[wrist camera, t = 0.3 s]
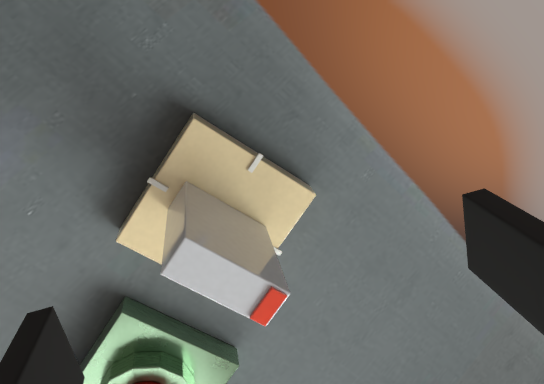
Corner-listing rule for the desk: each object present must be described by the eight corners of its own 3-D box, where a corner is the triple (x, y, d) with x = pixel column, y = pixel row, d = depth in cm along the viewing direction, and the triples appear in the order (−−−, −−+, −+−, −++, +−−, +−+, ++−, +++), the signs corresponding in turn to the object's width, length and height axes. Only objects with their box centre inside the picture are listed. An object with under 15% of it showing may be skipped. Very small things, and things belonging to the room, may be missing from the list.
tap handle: (167, 209, 33) (159, 277, 24) (186, 180, 32) (185, 238, 24) (247, 253, 35) (266, 330, 26) (266, 226, 34) (292, 295, 26)
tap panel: (191, 105, 33) (191, 110, 31) (316, 184, 36) (324, 194, 34) (111, 231, 35) (107, 244, 33) (237, 295, 38) (240, 310, 36)
